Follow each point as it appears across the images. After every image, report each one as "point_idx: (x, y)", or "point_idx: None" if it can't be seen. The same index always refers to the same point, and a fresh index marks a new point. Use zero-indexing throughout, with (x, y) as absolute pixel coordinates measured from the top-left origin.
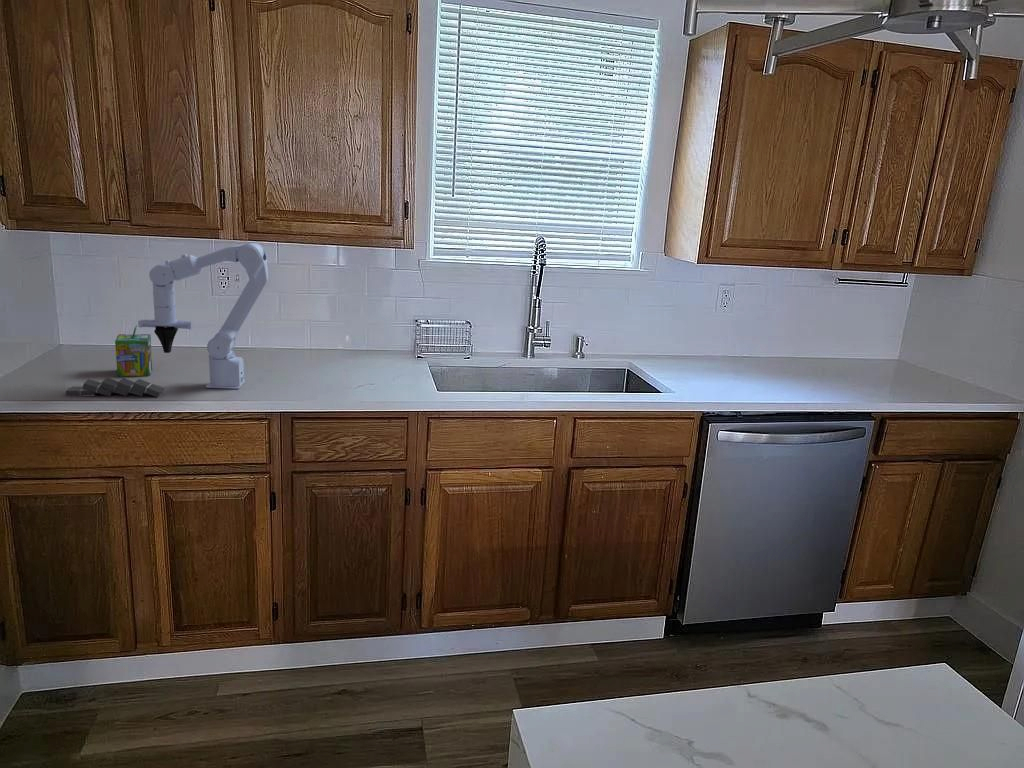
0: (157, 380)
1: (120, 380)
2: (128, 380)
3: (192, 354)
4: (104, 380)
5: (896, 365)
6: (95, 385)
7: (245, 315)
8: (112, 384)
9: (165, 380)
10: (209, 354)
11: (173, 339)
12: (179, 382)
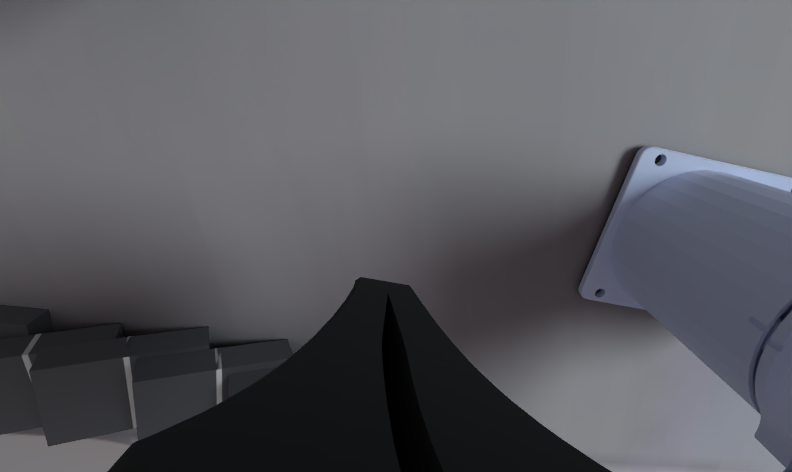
0: (287, 80)
1: (139, 428)
2: (172, 384)
3: None
4: (47, 422)
5: None
6: (25, 414)
7: None
8: (112, 421)
9: (339, 85)
10: (785, 342)
11: (476, 378)
12: (433, 148)
